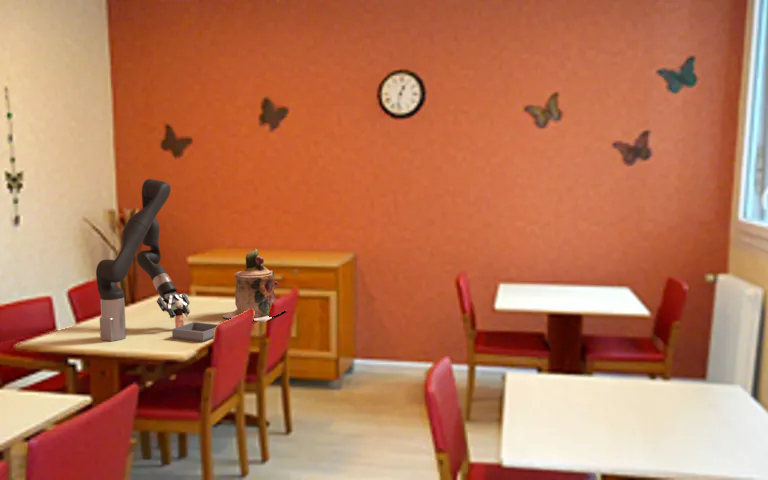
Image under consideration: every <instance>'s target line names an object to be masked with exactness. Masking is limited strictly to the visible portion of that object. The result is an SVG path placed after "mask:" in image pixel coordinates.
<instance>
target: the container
mask: <svg viewBox="0 0 768 480" xmlns="http://www.w3.org/2000/svg"><path fill="white" fill-rule="evenodd" d="M182 294H183V293H181V294H180V295H182ZM186 296H187V298H188V299H189V296H188V295H187V294H186ZM182 305H183V304H182ZM181 308H182V307H181ZM171 309H172V310H175V309H177V308H176V307H175V305H171ZM182 309H183V308H182Z"/></svg>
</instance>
